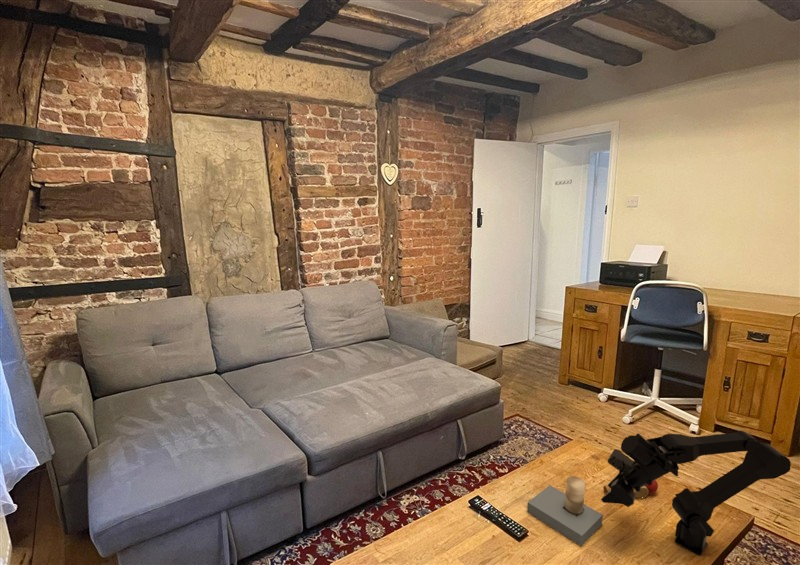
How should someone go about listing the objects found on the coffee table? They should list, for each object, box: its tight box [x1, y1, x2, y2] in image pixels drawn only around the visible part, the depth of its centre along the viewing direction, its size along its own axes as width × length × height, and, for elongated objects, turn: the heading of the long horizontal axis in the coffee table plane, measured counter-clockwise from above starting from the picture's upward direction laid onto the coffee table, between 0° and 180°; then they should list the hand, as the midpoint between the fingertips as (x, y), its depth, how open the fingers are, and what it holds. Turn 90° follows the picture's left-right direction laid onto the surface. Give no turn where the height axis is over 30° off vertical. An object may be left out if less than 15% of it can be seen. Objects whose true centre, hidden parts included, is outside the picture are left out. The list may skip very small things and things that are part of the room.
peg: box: [564, 475, 586, 516], centre depth 130 cm, size 6×6×12 cm
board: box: [526, 484, 604, 547], centre depth 131 cm, size 18×13×4 cm
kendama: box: [602, 479, 659, 499], centre depth 143 cm, size 8×6×18 cm
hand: (605, 493), depth 127 cm, fingers open, 9 cm apart
